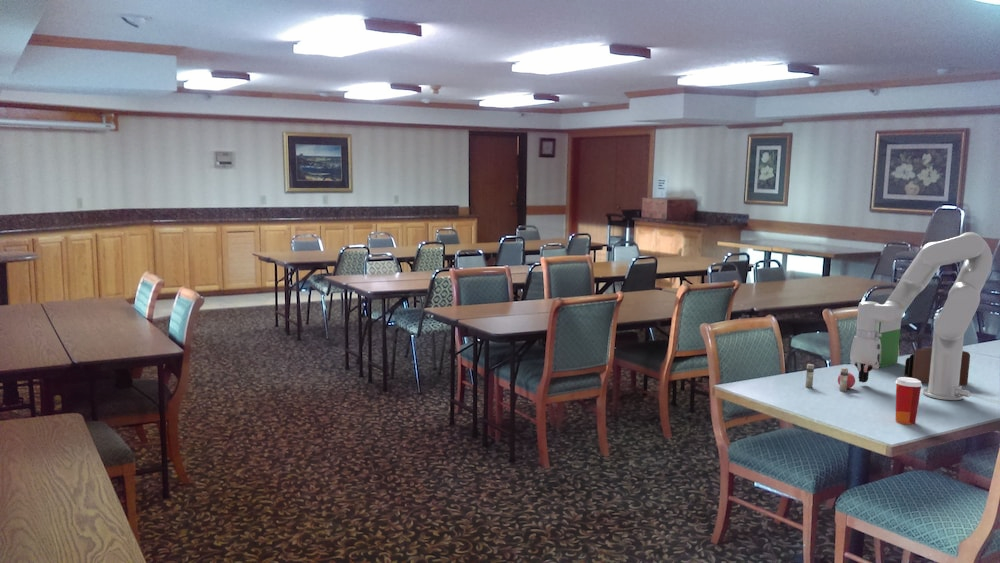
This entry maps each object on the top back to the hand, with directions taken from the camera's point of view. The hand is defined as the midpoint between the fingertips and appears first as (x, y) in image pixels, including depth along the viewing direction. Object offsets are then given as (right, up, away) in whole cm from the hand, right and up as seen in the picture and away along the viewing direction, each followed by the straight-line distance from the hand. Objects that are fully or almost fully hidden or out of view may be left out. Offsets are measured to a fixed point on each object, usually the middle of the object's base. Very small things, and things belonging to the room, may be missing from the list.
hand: (863, 381), depth 293 cm
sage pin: (-22, -2, -4) cm, 22 cm away
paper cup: (-8, -7, -45) cm, 46 cm away
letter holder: (+33, -1, +10) cm, 34 cm away
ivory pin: (-11, -2, -8) cm, 14 cm away
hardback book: (+24, +3, +37) cm, 45 cm away
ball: (-8, +1, -5) cm, 10 cm away
